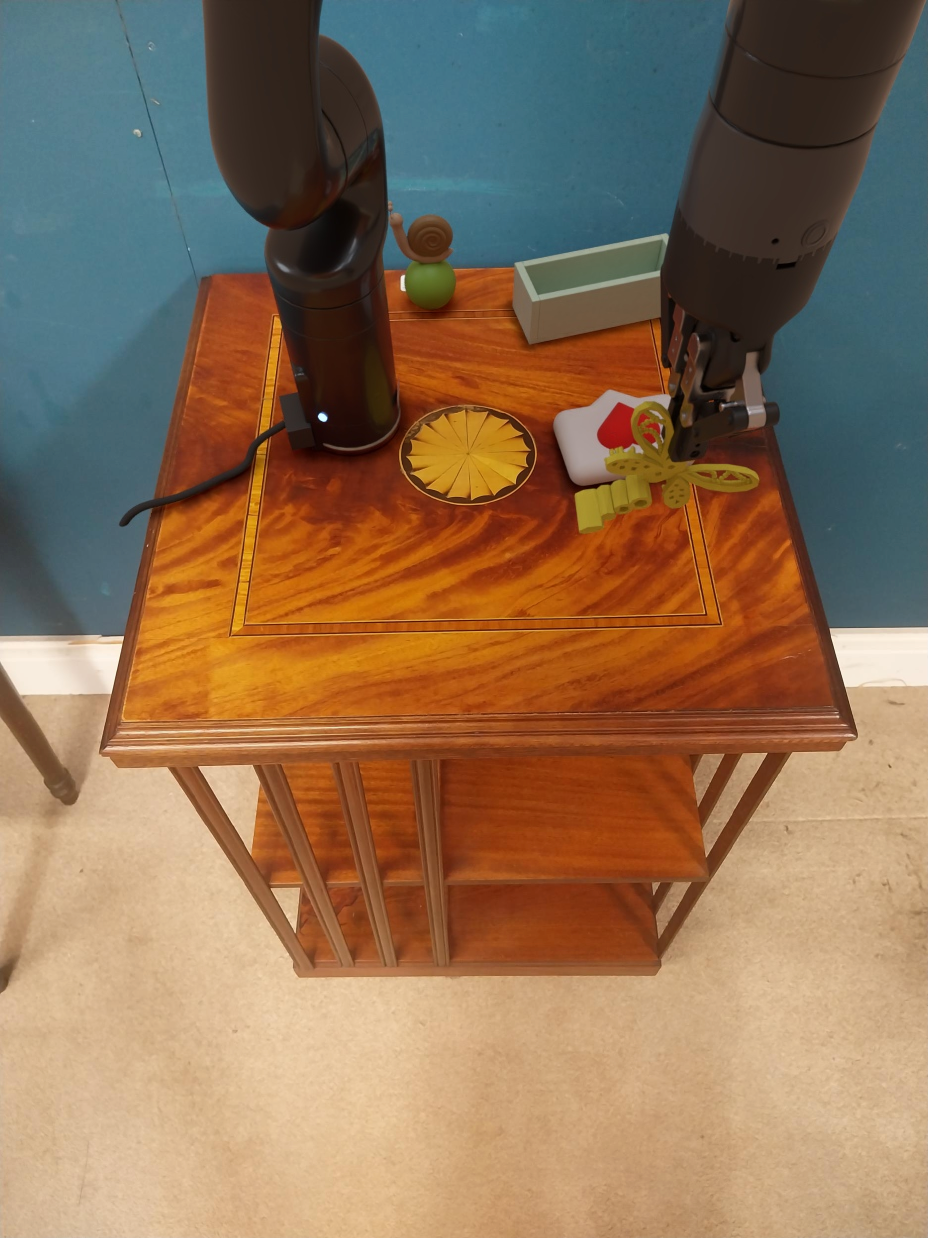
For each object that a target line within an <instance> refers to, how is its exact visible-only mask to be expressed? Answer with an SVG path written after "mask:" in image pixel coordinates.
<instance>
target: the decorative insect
mask: <svg viewBox="0 0 928 1238" xmlns="http://www.w3.org/2000/svg"><path fill="white" fill-rule="evenodd" d="M650 410H651V411H656V412H658V413H659V414H660V415H661V416H662V418H663V419H660V417H659V416H657V415H655V414H653V413H652V412H651V411H650ZM642 413H644V414H645V415H647V416H648V417H650V419H646V420H645V421H644V422H642V423H641V424H640V426H637V424H638V420H639V417H640V415H641V414H642ZM654 422H655V423H660V424H661V425H664V426H665V427H666V433H665V438H664V441H663V443H662V440H661V437H660V435H659V433H657V431H656V430H653V428H649V429H648V428H645V427H646V425H649V424H650V423H654ZM631 427H632V432H633V436H634V439H635V440H636V442H637V443H638V444H639V446H640V447H641V449H642V450H643V454H641V453H640V452H639V453H636V450H635V447H634V446H632V447H631V449H629V450H628V451H627V452H624V450H623V447H622V446H621V447H619V448H615V453H614V450H613V449H610V450H609V454H610V456H609V457H606V458H604V461H605V467H606V470H607V471H609V472H610V473H612V474H617V475H622V476H627V477H626V479H619V480H615V481H612V483H611V484H601V485H599V486H598V487H597V488H588V489H583V490H580V491H578V492H576V493H574V502H575V510H576V511H575V512H576V519H577V527H578V533H579V534H584V535H586V534H593V533H597V532H599V531H602V530H604V529H605V524H604V523H605V521H606V522H610V521H612V520H614V519H616V518H617V515H628V514H629V513H631V512H633V510H636V511H637V510H644V509H647V508H648V507H650V506H651V505H652V503H653V498H652V491H651V487H650V484H651V483H653V484H654V483H659V482H660V483H661V482H662V481H665V484H663V483H662V485H661V489H662V493H661V496H662V501H663V504H664V505H666V506H667V507H668V508H670V509H680V508H682V507H684V506H685V505H687V504H688V503H689V502H690V499H691V496H692V491H691V486H690V484H692V485H695V486H698V487H701V488H703V489H705V490H708V491H715V492H723V493H738V492H748V491H751V490H753V489H754V488H757V487H758V486H759V483H760V478H759V475H758V473H757V472H756V471H754V470H752V469H751V468H748V467H746V466H742V465H736V464H729V463H699V464H692V465H690V466H686V465H687V461H686V462H672V461H671V459H670V456H669V454H668V448H669V444H670V441H671V438H672V436H673V434H674V428H673V423H672V420H671V417H670V414H669V411H668V410H667V409H666V408H665V407H663V406H662V405H661V404H659V403H657V402H655V401H645V402H643V403H642V404H640V405H639V406H637V407H636V408H635V409H634V412H633V415H632V418H631ZM642 428H644V429H643V430H642ZM648 432H649V433H650V434H652V435H653V436H654V438H655V440H656V441H657V444H658V449H657V448H656V447H655V446H653V445H652V444H651V443H650V442H649V441H647V440H646V439H645V438H644V437H643V434H644V433H648ZM693 461H694V462H695V461H696V460H692V461H689V462H693ZM717 471H725V472H723V474H722V475H719V478H718V474H717ZM699 473H706V474H709V475H711V477H708V476H704V475H701V474H699ZM730 475H732V476H733V477H734V478H736V479H735V480H733V479H732V480H725V479H727V478H728V477H729V476H730ZM747 477H749V478H747Z"/></svg>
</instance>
